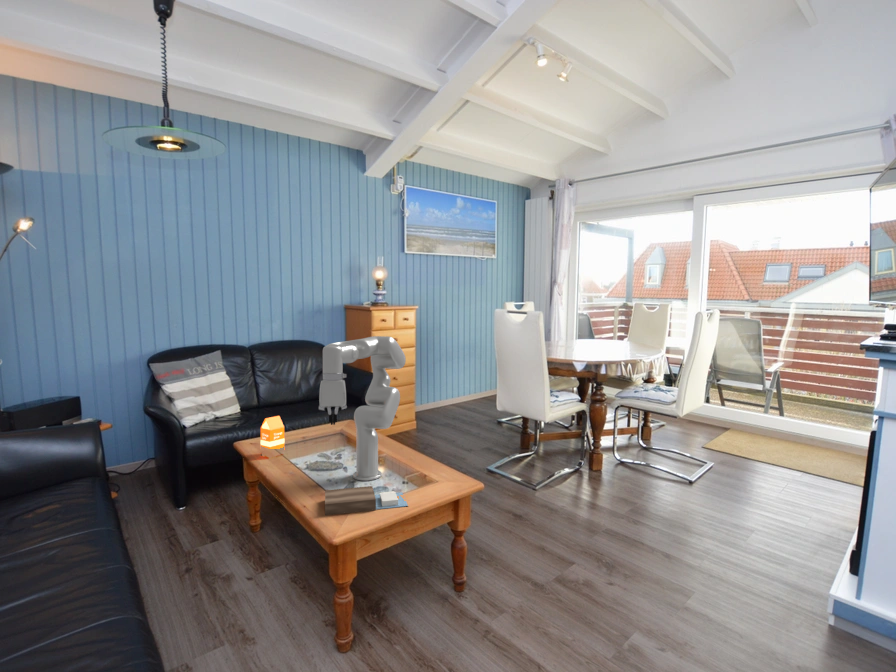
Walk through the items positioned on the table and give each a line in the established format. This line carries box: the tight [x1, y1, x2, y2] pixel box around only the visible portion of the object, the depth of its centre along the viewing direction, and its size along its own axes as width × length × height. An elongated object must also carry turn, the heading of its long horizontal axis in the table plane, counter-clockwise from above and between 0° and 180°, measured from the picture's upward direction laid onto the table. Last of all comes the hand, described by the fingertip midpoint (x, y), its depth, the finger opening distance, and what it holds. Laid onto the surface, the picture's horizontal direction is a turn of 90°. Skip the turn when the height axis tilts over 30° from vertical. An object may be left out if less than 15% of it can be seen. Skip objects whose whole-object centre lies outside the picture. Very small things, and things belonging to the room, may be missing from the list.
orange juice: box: [260, 415, 286, 449], centre depth 235 cm, size 8×9×20 cm
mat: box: [375, 491, 409, 511], centre depth 176 cm, size 14×12×1 cm
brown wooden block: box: [324, 485, 376, 516], centre depth 171 cm, size 14×18×4 cm
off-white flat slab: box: [379, 490, 398, 507], centre depth 174 cm, size 9×6×2 cm, turn 14°
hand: (332, 424), depth 178 cm, fingers closed
